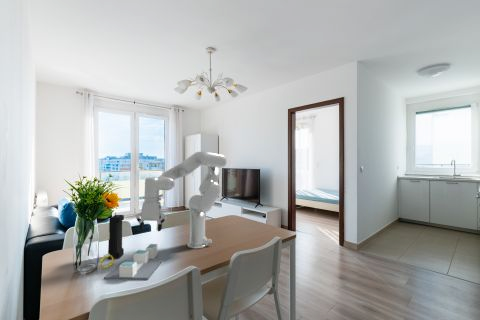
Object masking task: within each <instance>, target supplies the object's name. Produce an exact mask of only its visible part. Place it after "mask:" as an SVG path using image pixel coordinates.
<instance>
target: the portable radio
mask: <svg viewBox="0 0 480 320" xmlns="http://www.w3.org/2000/svg"><path fill="white" fill-rule="evenodd" d="M114 214H115V215H112V216H110V217H109V219H108V220H109V221H108V223H109V224H108V225H109V227H108V231H109V232H108V233H109V239H108V244H107V245H108V246H107V254H110V255H111V256H112V257H113V258H114V260H117V259H118V260H119V259H120V258H121V257H122V256H124V254H125V253H124V251H125V249H124V248H123V220H125V215H124V214H117V212H114ZM111 256H109V257H107V259H108V260H112V257H111Z"/></svg>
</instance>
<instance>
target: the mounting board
mask: <svg viewBox="0 0 480 320" xmlns="http://www.w3.org/2000/svg"><path fill="white" fill-rule="evenodd" d="M162 263H163V260H162V259H149V251H147V250H146V249H145V250H144V249H143V250H142V249H141V250H140V249H139V250H138V249H137V250H136V251H135V252H134V253H133V259H123V260H122V261H121V262H119V264H118V265H116V266H115V267H114V268H113V269H112V270H110V271H109V272H108V273H107V274H105V276H103V280H111V281H112V280H115V281H117V280H120V281H122V280H123V281H127V280H128V281H129V280H130V281H149V279H150V278H151V277H152V275H153V274H154V273H155V272H156V270H157V269H158V268H159V266H160V265H161V264H162Z"/></svg>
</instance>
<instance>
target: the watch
mask: <svg viewBox="0 0 480 320" xmlns="http://www.w3.org/2000/svg"><path fill="white" fill-rule="evenodd" d="M109 256H111V255H110V254H108V253H106V254H103V257H101V259H100V261H99V265H100V267H101V268H104V269H105V268H107V267H110V266H112V265H113V263H114V260H115V259H114V258H113V257H112V256H111V257H112V259H111V261H110V263H109V264H108V265H104V266H103V261H104V259H105V258H108V257H109Z"/></svg>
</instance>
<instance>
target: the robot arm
mask: <svg viewBox="0 0 480 320" xmlns="http://www.w3.org/2000/svg"><path fill="white" fill-rule="evenodd" d="M226 164H227V158H226V156H225V155H224V154H219V153H214V152H210V151H203V150H202V151H196V152H195V153H193V154H191V155H190V156H188V157H187V158H186V159H184V160H183V161H182V162H181V163H178V164H177V165H175V166H173V167H171V168H169V169H168V170H166V171H165V172H164V173H162V174H160V175H159V176H158V177H155V176H154V177H153V176H152V177H146V178H145V180H144V200H143V202H142V206H141V211H140V212H139V213H137V214H135V215H134V216H135V218H136V221H137V222H138V223H139V230H140V231H139V232H142V231H144V230H145V221H148V222H150V221H152V222H157V223H158V224H157V232H160V231H162V229H163V223H164V222H165V221H166V219H167V218H168V215H166V214H165V213H163V212H162V205H161V201H162V197H160V191H170V190H172V189H174V187H175V180H177V179H179V178H183V177H186V176H189V175H190V174H192V173H193V172H194V171H196V170H197V169H198V168H200V166H206V167H207V173H206V175H205V177H204V178H203V180H202V182H201V184H200V185H199V187H198V190H199V193H200V194H194V195H192V196H191V197H190V198H189V200H188V209H189V242H187V243H186V244H187V247H188V248H190V249H202V248H205V247H207V246H208V244H212V243H213V240H212V239H211V238H207V236H206V213H208V212H210V211H211V209H212V208H213V206H214V204H215V203H216V201H217V199H218V197H219V195H220V193H221V185H220V184H219V183H218V181H219V179H220V175H221V171H220V169H222V168H224V167H225V166H226Z"/></svg>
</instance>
